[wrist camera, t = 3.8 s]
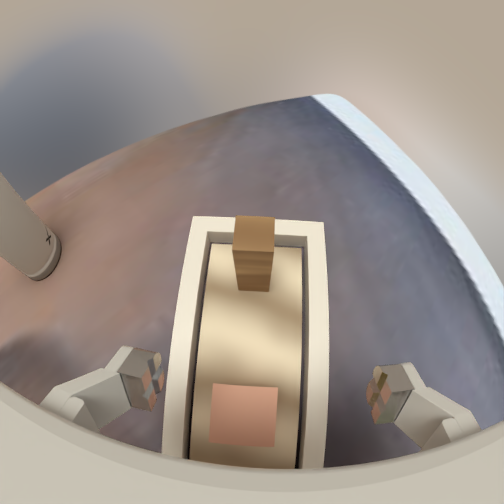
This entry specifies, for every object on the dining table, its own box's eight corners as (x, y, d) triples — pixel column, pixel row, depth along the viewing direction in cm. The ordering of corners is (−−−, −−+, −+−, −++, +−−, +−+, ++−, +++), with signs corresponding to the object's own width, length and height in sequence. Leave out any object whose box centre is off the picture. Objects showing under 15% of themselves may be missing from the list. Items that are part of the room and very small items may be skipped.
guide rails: (297, 581, 9) (300, 591, 8) (170, 571, 10) (165, 580, 8) (319, 233, 27) (323, 222, 25) (196, 227, 27) (193, 216, 26)
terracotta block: (270, 436, 17) (274, 447, 14) (217, 432, 17) (208, 442, 14) (273, 387, 19) (278, 387, 15) (220, 383, 19) (213, 383, 16)
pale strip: (285, 528, 13) (297, 577, 6) (190, 521, 14) (164, 566, 6) (299, 254, 26) (315, 198, 18) (213, 250, 26) (198, 193, 19)
